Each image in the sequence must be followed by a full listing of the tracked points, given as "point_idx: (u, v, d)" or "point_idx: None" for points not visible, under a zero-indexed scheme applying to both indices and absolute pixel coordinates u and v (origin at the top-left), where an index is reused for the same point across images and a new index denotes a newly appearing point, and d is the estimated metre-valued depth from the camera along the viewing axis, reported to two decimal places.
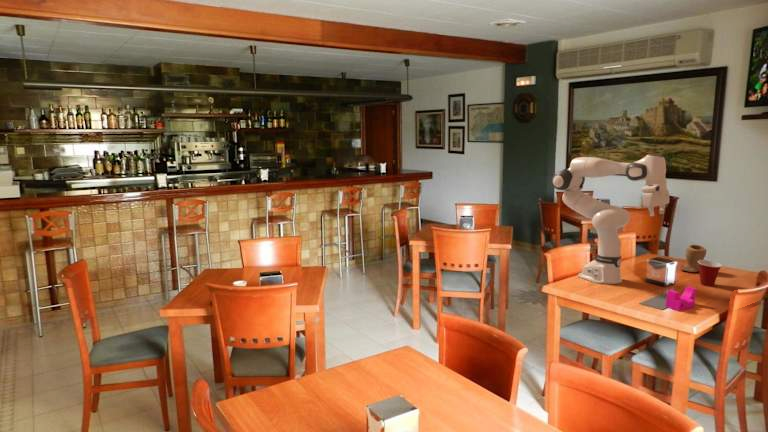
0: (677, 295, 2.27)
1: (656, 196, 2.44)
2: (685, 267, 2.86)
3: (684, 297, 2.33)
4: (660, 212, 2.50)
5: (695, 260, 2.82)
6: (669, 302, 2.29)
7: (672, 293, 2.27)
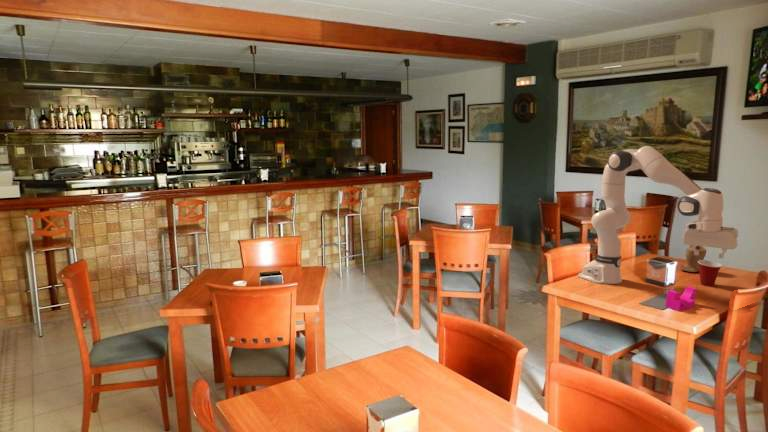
0: (677, 295, 2.27)
1: (699, 235, 2.21)
2: (685, 267, 2.86)
3: (684, 297, 2.33)
4: None
5: (695, 260, 2.82)
6: (669, 302, 2.29)
7: (672, 293, 2.27)
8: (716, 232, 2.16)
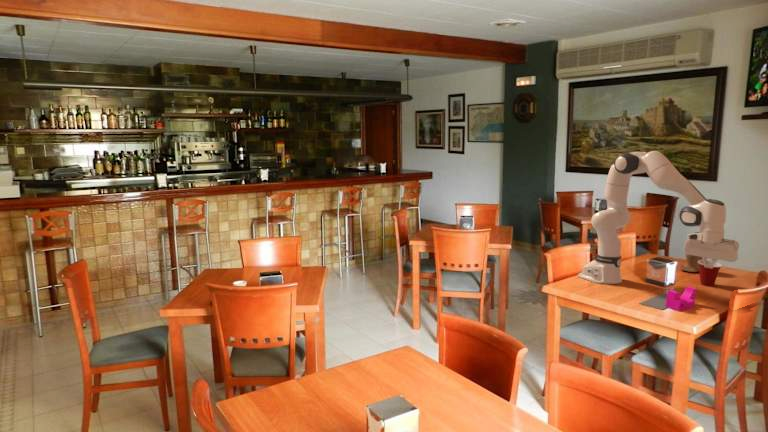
0: (677, 295, 2.27)
1: (700, 246, 2.21)
2: (685, 267, 2.86)
3: (684, 297, 2.33)
4: None
5: (695, 260, 2.82)
6: (669, 302, 2.29)
7: (672, 293, 2.27)
8: (717, 244, 2.15)
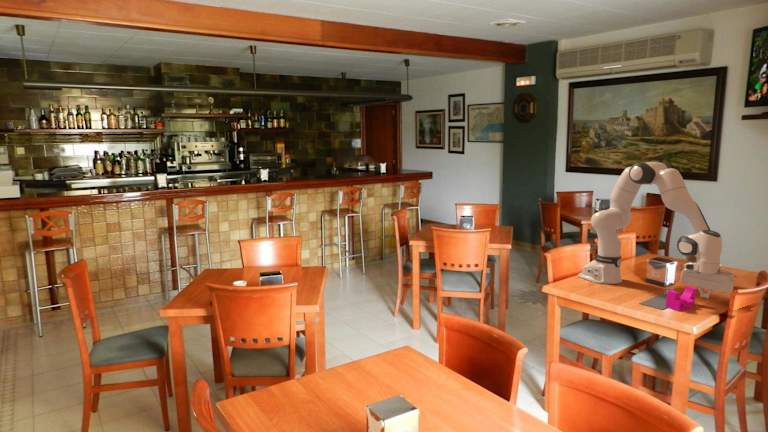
0: (677, 295, 2.27)
1: (697, 275, 2.24)
2: None
3: (684, 297, 2.33)
4: None
5: (695, 260, 2.82)
6: (669, 302, 2.29)
7: (672, 293, 2.27)
8: (713, 274, 2.18)
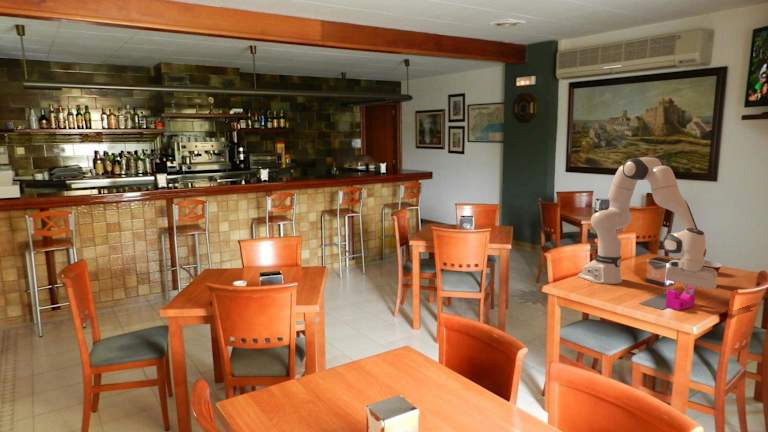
0: (676, 294, 2.27)
1: (681, 273, 2.29)
2: None
3: (684, 297, 2.33)
4: None
5: None
6: (669, 302, 2.29)
7: (671, 292, 2.28)
8: (696, 271, 2.23)
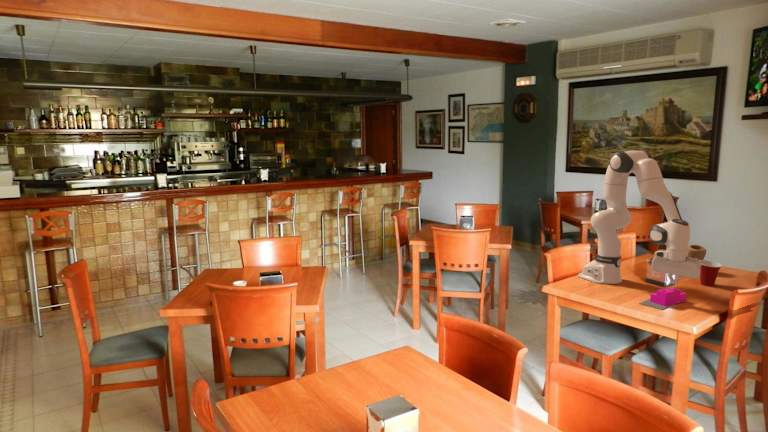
0: (655, 294, 2.36)
1: (666, 263, 2.33)
2: None
3: None
4: None
5: None
6: (660, 301, 2.33)
7: (651, 296, 2.37)
8: (681, 261, 2.28)
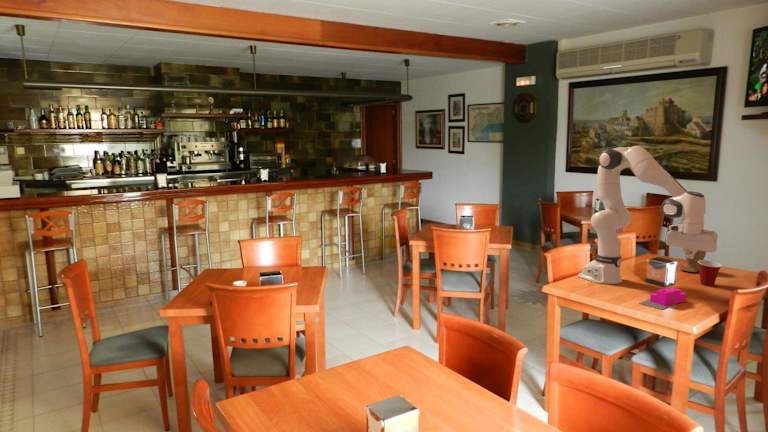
0: (655, 294, 2.36)
1: (681, 237, 2.27)
2: (685, 267, 2.86)
3: None
4: None
5: (695, 260, 2.82)
6: (660, 301, 2.33)
7: (651, 296, 2.37)
8: (697, 235, 2.21)
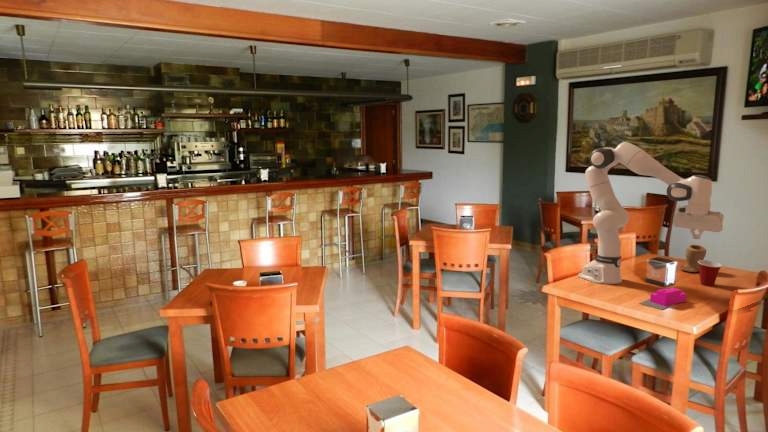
0: (655, 294, 2.36)
1: (688, 218, 2.38)
2: (685, 267, 2.86)
3: None
4: None
5: (695, 260, 2.82)
6: (660, 301, 2.33)
7: (651, 296, 2.37)
8: (703, 216, 2.33)
